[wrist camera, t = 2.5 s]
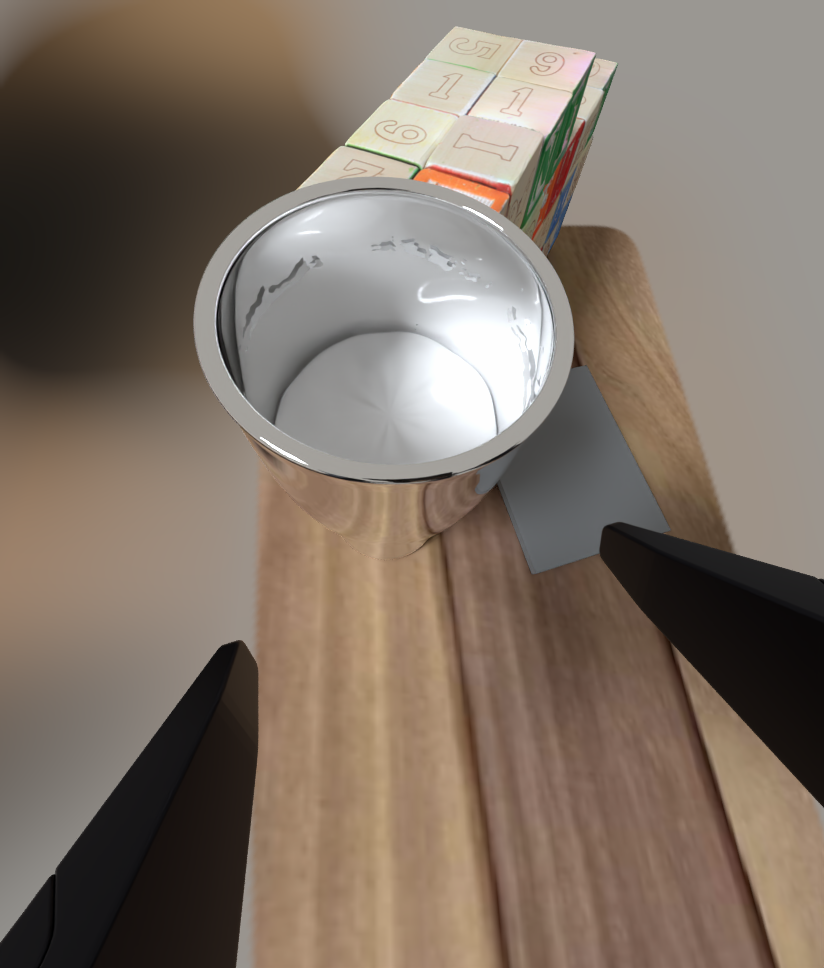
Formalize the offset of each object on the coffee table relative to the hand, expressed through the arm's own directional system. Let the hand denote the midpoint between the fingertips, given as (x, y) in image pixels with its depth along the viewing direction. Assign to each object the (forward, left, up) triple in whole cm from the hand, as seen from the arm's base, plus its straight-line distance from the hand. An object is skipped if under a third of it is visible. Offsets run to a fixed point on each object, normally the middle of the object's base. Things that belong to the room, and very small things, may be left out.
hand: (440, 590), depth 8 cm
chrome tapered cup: (+5, 0, -11) cm, 12 cm away
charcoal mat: (+5, -12, -11) cm, 17 cm away
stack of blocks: (+17, -10, -11) cm, 22 cm away
